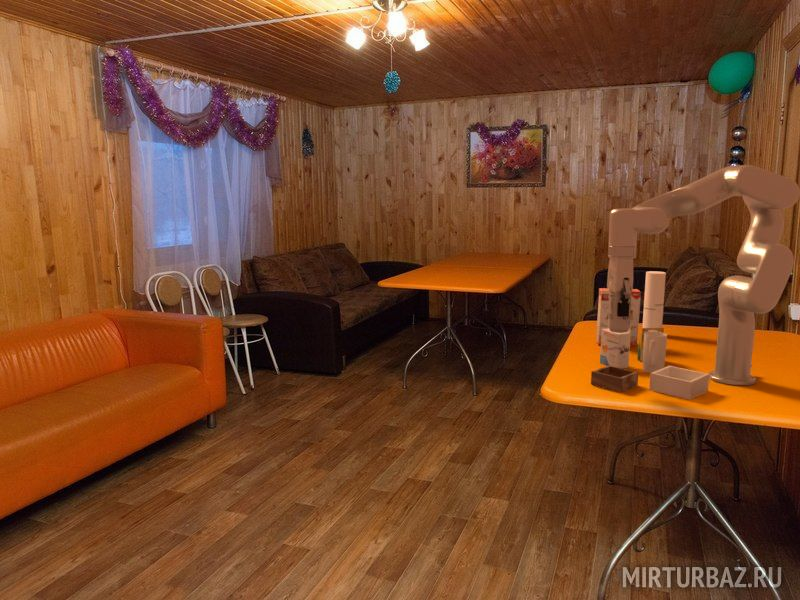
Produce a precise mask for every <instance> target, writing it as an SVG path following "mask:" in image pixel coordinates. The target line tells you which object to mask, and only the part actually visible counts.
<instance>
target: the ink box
mask: <svg viewBox="0 0 800 600" xmlns="http://www.w3.org/2000/svg"><path fill="white" fill-rule="evenodd" d="M630 331H631V324H630V329H628V332H625V333H616V332H611V331H610V329H609V328H607V329H602V334H601V345H600V351H599V353H600V354H599V355H600V356H599V363H600V364H602V363H603V365H605V366H608V365H609V366H614V367H618V368H622V369H626V368H629V367H630V366H629V365H630V364H629V363H630V349H631V346H630V336H631V333H630Z"/></svg>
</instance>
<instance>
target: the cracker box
mask: <svg viewBox="0 0 800 600" xmlns="http://www.w3.org/2000/svg"><path fill="white" fill-rule="evenodd" d="M641 295H642V292H641V291H640V290H639V289H637V288H635V289H634V288H633V290H632V292H631V315H630V324H631V331H630V333H631V336H630V347H637V348H638V340H639V324H640V311H641V299H642V298H641ZM597 307H598V309H597V320H596V334H595V335H596V338H595V342H596V344H597V346H601V334H602V329H607V328H608V313H609V289H608V288H607V287H606V288H605V287H603V288H602V287H601V288H598V306H597Z"/></svg>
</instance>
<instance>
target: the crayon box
mask: <svg viewBox="0 0 800 600" xmlns="http://www.w3.org/2000/svg"><path fill="white" fill-rule="evenodd" d="M641 329H642V330H641V331H638V341H637V361H638V362H640V363H643V349H644V333H645V332H649V331H648V330H652V329H654V330H658V331H657V332H661V333H664V329H665V327H662V328H641Z"/></svg>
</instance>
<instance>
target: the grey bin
mask: <svg viewBox="0 0 800 600" xmlns="http://www.w3.org/2000/svg"><path fill="white" fill-rule="evenodd" d="M709 383H710V378H709V373H706V372H701V371H696V370H692V369H686V368H682V367H679V366H673V365H667V366H664V368H662V369H660V370H657V371H655V372H652V373H650V374H649V387H648V388H649V389H648V390H649V391H651V392H652V391H653V392H656V393H661V394H665V395H669V396H672V397H676V398H679V399H685V400H687V401H691V400H692V399H693V400H694V399H695V398H696V397H698V396H701V395H703V394H704V392H705V393H706V391H707V392H708V391H709ZM702 393H703V394H702ZM700 394H701V395H700Z"/></svg>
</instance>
